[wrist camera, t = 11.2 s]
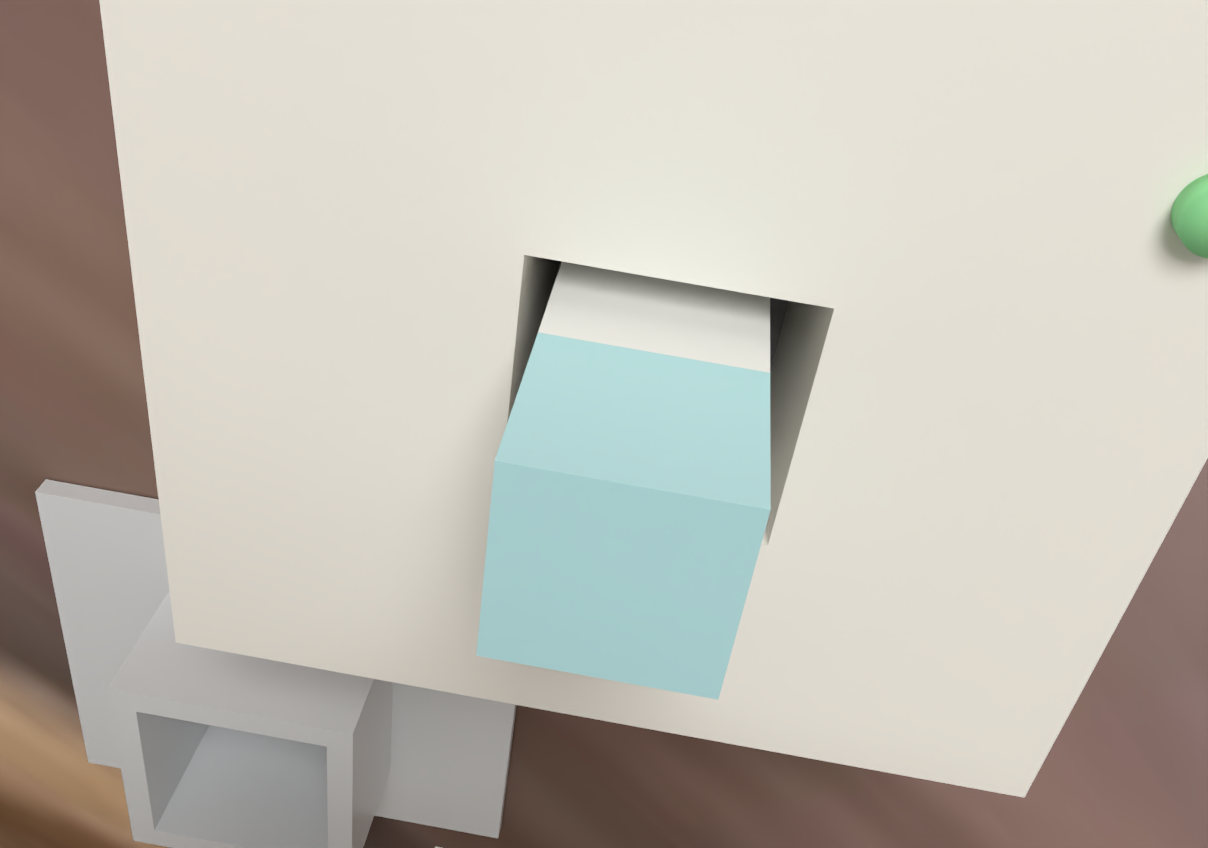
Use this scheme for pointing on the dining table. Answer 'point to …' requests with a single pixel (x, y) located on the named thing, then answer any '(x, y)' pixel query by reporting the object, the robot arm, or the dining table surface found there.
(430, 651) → the port
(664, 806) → the dining table surface
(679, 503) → the plug
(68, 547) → the holster
